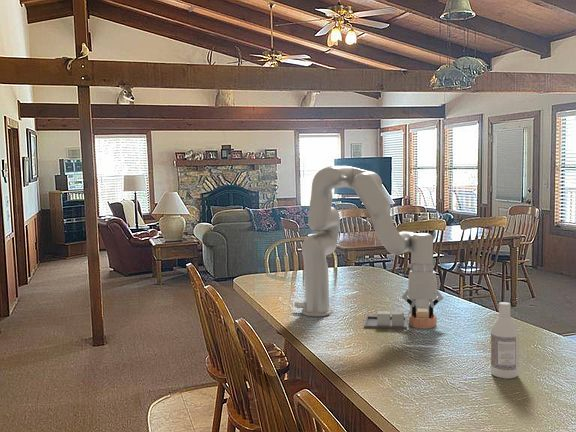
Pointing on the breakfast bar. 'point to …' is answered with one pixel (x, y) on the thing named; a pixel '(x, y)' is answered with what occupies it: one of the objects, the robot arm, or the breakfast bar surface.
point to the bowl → (422, 321)
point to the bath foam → (504, 344)
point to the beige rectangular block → (422, 313)
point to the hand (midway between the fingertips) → (422, 316)
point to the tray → (372, 323)
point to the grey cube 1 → (383, 318)
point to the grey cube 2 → (397, 318)
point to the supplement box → (420, 305)
